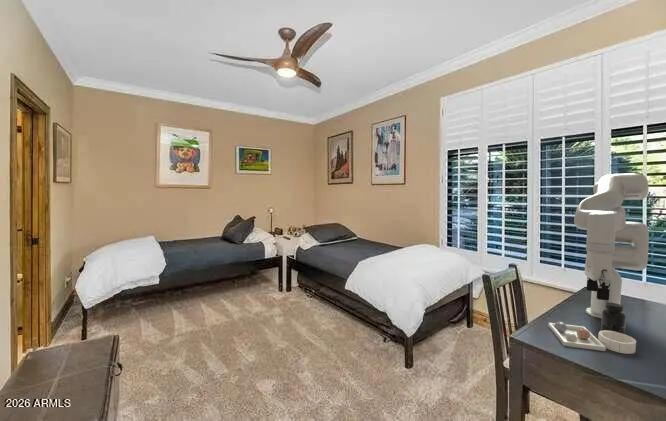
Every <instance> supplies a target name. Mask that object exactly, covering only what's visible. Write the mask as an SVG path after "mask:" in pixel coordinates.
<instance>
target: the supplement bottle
mask: <svg viewBox="0 0 666 421" xmlns="http://www.w3.org/2000/svg"><path fill="white" fill-rule="evenodd" d="M600 322H601V323H600V324H601V325H600V331H604V330H607V331H615V332H619V333H623V334H625V335H626V323H627V316H626V313H624V306H623V305H622V304H621V303H620V304H616V303H610V302H608V303H606V309H604V310H603V311H602V319H600Z"/></svg>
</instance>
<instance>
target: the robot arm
mask: <svg viewBox="0 0 666 421" xmlns="http://www.w3.org/2000/svg"><path fill="white" fill-rule="evenodd" d="M592 192H593V195H591V196H589V197H586V198H585V199H583V200H582V201H580V202H579V204H578V205H577V207H576V210H575V214H574V216H573V217H574V218H573V219H574V220H573V223H574V225H575V227H576V228H577V229H579V230H583V231H584V230H585V231H586V242H585V243H586V244H585V245H586V246H585V251H586V255H585V257H586V258H585V263H584V275H585V276H586V290H587V291H589V292H591V295H590V307H587V308H586V309H585V312H586V314H587V315H588V316H590V317H595V318H599V319H600V320H602V311H603V310H604V309H606V303H608V302H610V303H616V304H620V305H621V300H622V299H621V296H622V286H623V285H622V284H623V281H622V280H623V279H622V276H621V274H620V273H619V272H618V271H617V270H616V269H622V270H631V271H643V270H645V269H646V268H647V265H648V262H649V261H648V260H649V259H648V258H649V242H650V240H649V239H650V232H649V227H648V225H646V224H645V223H643V222H639V221H627V218H626V214H627V213H626V210H625V208H624V207H623V206H622V204H623V202H624V200H626V201H629V200H630V201H641V200H645V198H647V196H648V194H649V180H648V178H647V177H646V176H645V175H644V174H642V173H613V174H612V173H610V174H606V175H604V176H602V177H600V179H599V180H598V182H595V183H594V185H593V188H592ZM619 244H624V245H619ZM626 244H627V245H626ZM628 245H630V246H628Z"/></svg>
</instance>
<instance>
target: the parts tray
mask: <svg viewBox="0 0 666 421" xmlns="http://www.w3.org/2000/svg"><path fill="white" fill-rule="evenodd" d="M555 323H556V322H548V327H549V329H550V330H551V331H552V332H553V333H554V335H555V337H557V339H558V340H559V341H560V343H561V344H562V345H563V346H565V347H571V348H576V349H577V348H579V349H580V348H581V349H587V350H594V351H601V352H607V351H606V350H607V348H606V347H605V346H604V345H603V344H602V343H601V342H600V341H599V340H598V338H597V337H596V336H595V335H593V333H592V332H591V331H589V333H590V337H589V338H588V339H579V338H578V336H577V328H581V329H586V330H588V328H586V327H585V326H582V325H581V326H580V325H573V324H565V325H566V326H567V331H566V332H560V331H558V330H557V329H556V328H555ZM568 333H572V334H574V335H576V337H577V342H569V341H567V340H566V338H565V336H566V334H568Z"/></svg>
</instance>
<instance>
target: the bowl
mask: <svg viewBox="0 0 666 421" xmlns="http://www.w3.org/2000/svg"><path fill="white" fill-rule="evenodd" d="M597 337H598V338H597V339H598V340H599V341H600V342H601V343H602V344H603V345H604V346H605V347H606V350H610V351H613V352H614V353H615V352H616V353H620V354H626V355H627V354H629V355H630V354H635V353H636V350H637V349H636V348H637V340H636V339H635V338H633V337H632V336H630V335H627V334H626V333H625V334H623V333H619V332H615V331H607V330H604V331H601V330H600V331H599V332H598V334H597Z"/></svg>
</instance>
